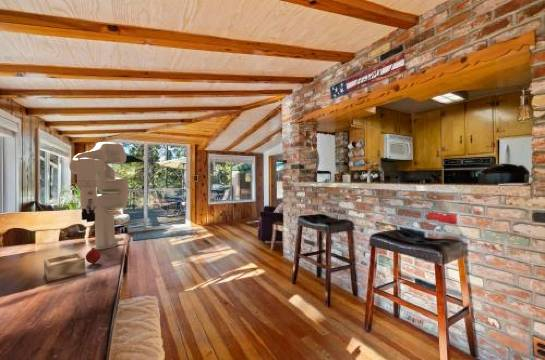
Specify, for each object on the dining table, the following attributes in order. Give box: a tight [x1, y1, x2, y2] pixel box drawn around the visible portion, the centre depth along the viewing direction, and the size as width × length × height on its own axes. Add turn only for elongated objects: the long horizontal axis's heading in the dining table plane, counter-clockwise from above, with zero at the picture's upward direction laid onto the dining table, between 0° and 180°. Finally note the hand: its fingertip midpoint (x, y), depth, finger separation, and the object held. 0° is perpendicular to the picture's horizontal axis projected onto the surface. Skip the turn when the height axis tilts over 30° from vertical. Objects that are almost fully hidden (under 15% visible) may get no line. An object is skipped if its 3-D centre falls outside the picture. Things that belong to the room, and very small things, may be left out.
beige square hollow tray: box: [43, 252, 86, 282], centre depth 106 cm, size 12×12×6 cm
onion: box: [85, 247, 102, 265], centre depth 117 cm, size 6×6×8 cm
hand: (88, 220), depth 116 cm, fingers open, 9 cm apart
